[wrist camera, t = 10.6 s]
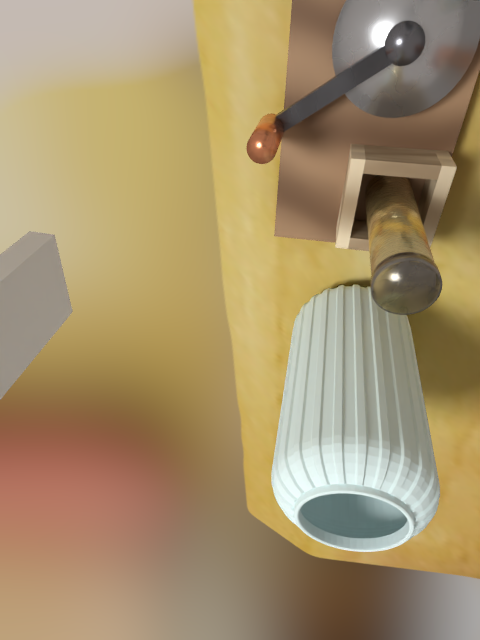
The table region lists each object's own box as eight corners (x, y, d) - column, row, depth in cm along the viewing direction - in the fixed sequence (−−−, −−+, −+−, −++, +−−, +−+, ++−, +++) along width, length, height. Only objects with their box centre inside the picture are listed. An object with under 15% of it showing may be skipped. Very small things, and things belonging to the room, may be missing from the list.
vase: (328, 371, 51) (320, 571, 34) (274, 301, 46) (233, 493, 29) (426, 336, 45) (474, 555, 28) (376, 253, 41) (398, 456, 24)
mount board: (298, -50, 28) (296, -51, 27) (509, -46, 27) (516, -47, 25) (276, 228, 41) (274, 236, 40) (419, 243, 39) (421, 251, 38)
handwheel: (230, 75, 32) (210, 93, 27) (449, -89, 25) (474, -104, 20) (291, 179, 36) (282, 211, 31) (495, 64, 29) (525, 82, 24)
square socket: (350, 143, 34) (351, 158, 31) (447, 151, 33) (457, 167, 30) (336, 228, 38) (335, 247, 36) (421, 236, 37) (426, 257, 35)
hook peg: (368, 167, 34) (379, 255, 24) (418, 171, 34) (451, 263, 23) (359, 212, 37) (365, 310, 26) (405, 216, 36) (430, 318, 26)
